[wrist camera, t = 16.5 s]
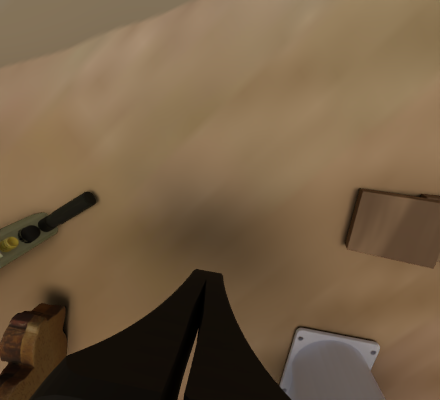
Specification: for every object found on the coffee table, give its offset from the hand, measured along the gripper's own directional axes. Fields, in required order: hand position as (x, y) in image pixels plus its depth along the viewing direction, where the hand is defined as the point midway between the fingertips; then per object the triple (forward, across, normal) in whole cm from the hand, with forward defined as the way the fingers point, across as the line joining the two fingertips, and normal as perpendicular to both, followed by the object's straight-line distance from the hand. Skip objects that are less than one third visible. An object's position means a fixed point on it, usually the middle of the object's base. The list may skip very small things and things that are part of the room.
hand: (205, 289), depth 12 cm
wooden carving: (+11, +16, +19) cm, 27 cm away
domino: (+10, -11, -2) cm, 15 cm away
